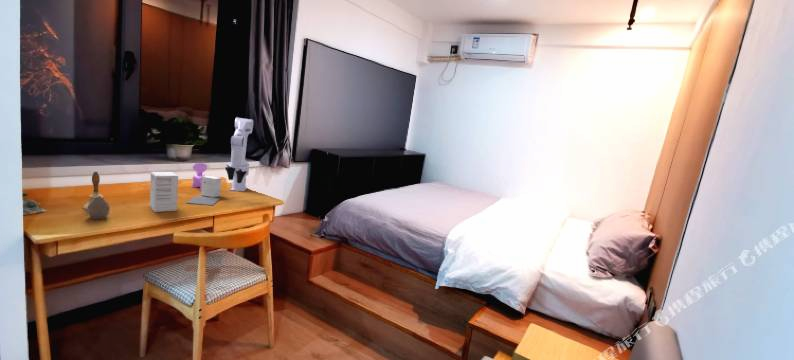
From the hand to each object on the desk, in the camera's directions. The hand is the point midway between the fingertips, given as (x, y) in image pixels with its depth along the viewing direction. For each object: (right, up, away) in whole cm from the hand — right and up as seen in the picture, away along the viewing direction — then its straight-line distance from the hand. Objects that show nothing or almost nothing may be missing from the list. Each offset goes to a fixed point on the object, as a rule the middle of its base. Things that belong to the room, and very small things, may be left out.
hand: (234, 181), depth 195 cm
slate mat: (-11, -10, -11) cm, 19 cm away
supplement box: (-19, -13, -31) cm, 39 cm away
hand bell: (-41, -11, -42) cm, 60 cm away
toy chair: (-26, -4, +12) cm, 29 cm away
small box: (-13, -8, -1) cm, 16 cm away
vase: (-31, -15, -53) cm, 63 cm away
